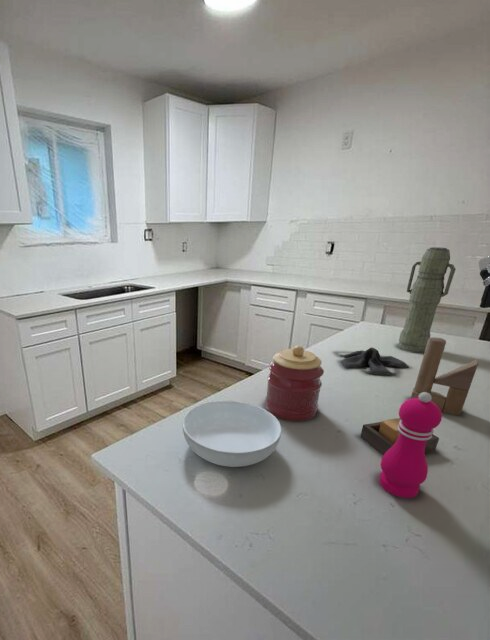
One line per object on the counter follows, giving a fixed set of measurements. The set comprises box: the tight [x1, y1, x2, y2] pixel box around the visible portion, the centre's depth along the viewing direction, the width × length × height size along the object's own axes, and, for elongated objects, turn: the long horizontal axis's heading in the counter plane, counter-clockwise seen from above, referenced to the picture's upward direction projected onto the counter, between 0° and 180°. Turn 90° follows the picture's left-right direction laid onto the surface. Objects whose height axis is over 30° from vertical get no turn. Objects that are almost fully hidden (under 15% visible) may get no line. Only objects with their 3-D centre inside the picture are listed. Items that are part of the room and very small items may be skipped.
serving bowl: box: [181, 400, 283, 468], centre depth 78 cm, size 21×21×7 cm
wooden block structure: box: [409, 336, 479, 416], centre depth 90 cm, size 4×11×18 cm, turn 52°
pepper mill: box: [378, 392, 443, 499], centre depth 64 cm, size 7×7×20 cm
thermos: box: [397, 246, 456, 353], centre depth 124 cm, size 9×12×35 cm
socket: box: [360, 421, 440, 456], centre depth 79 cm, size 12×8×4 cm
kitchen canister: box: [264, 345, 325, 422], centre depth 91 cm, size 13×13×18 cm
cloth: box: [339, 347, 409, 377], centre depth 119 cm, size 22×19×6 cm
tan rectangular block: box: [379, 417, 401, 443], centre depth 78 cm, size 7×4×5 cm, turn 103°
